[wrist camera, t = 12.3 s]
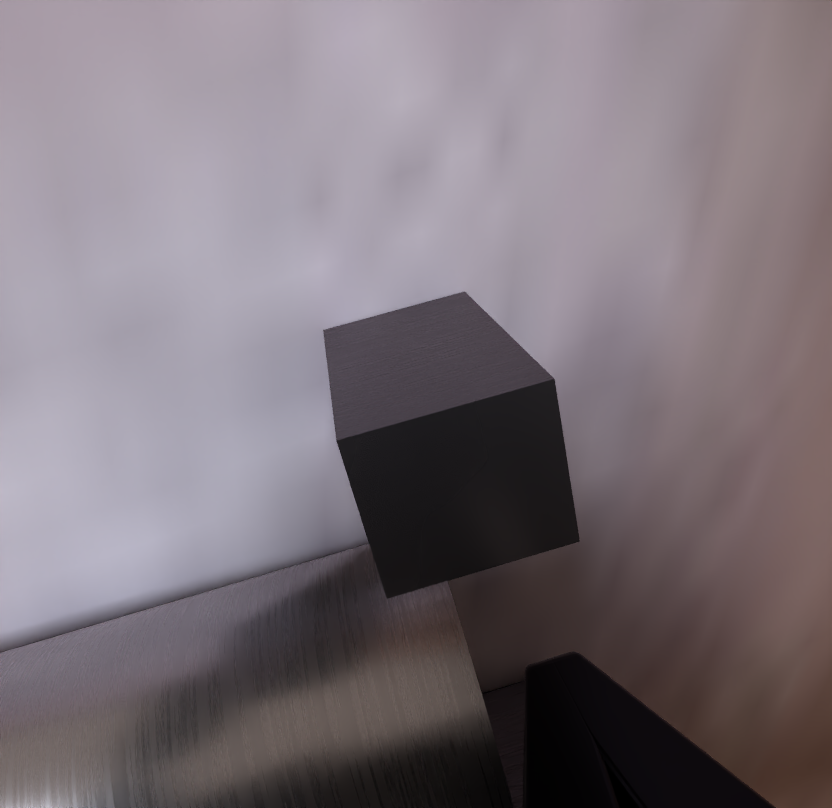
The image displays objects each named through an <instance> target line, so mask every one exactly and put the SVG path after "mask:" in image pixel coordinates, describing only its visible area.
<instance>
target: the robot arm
mask: <svg viewBox="0 0 832 808" xmlns="http://www.w3.org/2000/svg"><path fill="white" fill-rule="evenodd" d="M523 808H776V807H774V806H773V805H772V804H770V803H769V802H768V801H767V800H765V799H764V798H763V797H762V796H760V795H759V794H758V793H756V792H755V791H754V790H753V789H751V788H750V787H749V786H748V785H746V784H745V783H744V782H742V781H741V780H740V779H739V778H737V777H736V776H735V775H734V774H732V773H731V772H730V771H728V770H727V769H726V768H725V767H723V766H722V765H721V764H720V763H718V762H717V761H716V760H714V759H713V758H712V757H711V756H709V755H708V754H707V753H706V752H704V751H703V750H702V749H700V748H699V747H698V746H697V745H695V744H694V743H693V742H692V741H690V740H689V739H688V738H687V737H685V736H684V735H683V734H681V733H680V732H679V731H678V730H676V729H675V728H674V727H673V726H671V725H670V724H669V723H667V722H666V721H665V720H664V719H662V718H661V717H660V716H659V715H657V714H656V713H655V712H653V711H652V710H651V709H650V708H648V707H647V706H646V705H645V704H643V703H642V702H641V701H639V700H638V699H637V698H636V697H634V696H633V695H632V694H631V693H629V692H628V691H627V690H625V689H624V688H623V687H622V686H620V685H619V684H618V683H617V682H615V681H614V680H613V679H611V678H610V677H609V676H608V675H606V674H605V673H604V672H603V671H601V670H600V669H599V668H597V667H596V666H595V665H594V664H592V663H591V662H590V661H589V660H587V659H586V658H585V657H583V656H582V655H581V654H579V653H577V652H569V653H566V654H562V655H559V656H556V657H553V658H549V659H546V660H543V661H540V662H536V663H533V664H530V665H528V666H527V667H526V669H525V697H524V760H523Z"/></svg>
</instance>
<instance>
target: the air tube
mask: <svg viewBox="0 0 832 808" xmlns="http://www.w3.org/2000/svg"><path fill="white" fill-rule="evenodd" d="M0 808H514V806H513V802H512V799H511V795H510V791H509V788H508V784H507V780H506V777H505V773H504V770H503V766H502V762H501V759H500V755H499V752H498V748H497V745H496V741H495V738H494V734H493V731H492V727H491V724H490V720H489V717H488V713H487V710H486V707H485V703H484V700H483V696H482V693H481V689H480V686H479V683H478V679H477V676H476V673H475V669H474V666H473V662H472V659H471V656H470V652H469V649H468V646H467V642H466V639H465V636H464V632H463V629H462V626H461V623H460V619H459V616H458V613H457V610H456V606H455V603H454V600H453V597H452V593H451V590H450V587H449V584H448V581H445V582H442V583H439V584H435V585H432V586H428V587H425V588H422V589H418V590H415V591H412V592H408V593H405V594H402V595H398V596H395V597H392V598H388V599H387V598H386V595H385V592H384V589H383V586H382V582H381V579H380V576H379V573H378V570H377V567H376V563H375V560H374V557H373V554H372V551H371V548H370V545H369V544H366V545H363V546H359V547H356V548H352V549H349V550H346V551H342V552H339V553H336V554H332V555H329V556H326V557H322V558H319V559H315V560H312V561H309V562H305V563H302V564H299V565H295V566H292V567H288V568H285V569H282V570H278V571H275V572H272V573H268V574H265V575H261V576H258V577H255V578H251V579H248V580H245V581H241V582H238V583H234V584H231V585H228V586H224V587H221V588H218V589H214V590H211V591H207V592H204V593H201V594H197V595H194V596H191V597H187V598H184V599H180V600H177V601H174V602H170V603H167V604H164V605H160V606H157V607H153V608H150V609H147V610H143V611H140V612H137V613H133V614H130V615H126V616H123V617H120V618H116V619H113V620H110V621H106V622H103V623H99V624H96V625H93V626H89V627H86V628H83V629H79V630H76V631H72V632H69V633H66V634H62V635H59V636H56V637H52V638H49V639H45V640H42V641H39V642H35V643H32V644H29V645H25V646H22V647H18V648H15V649H12V650H8V651H5V652H2V653H0Z"/></svg>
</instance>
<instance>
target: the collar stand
mask: <svg viewBox="0 0 832 808" xmlns="http://www.w3.org/2000/svg"><path fill="white" fill-rule="evenodd" d="M323 332H324V340H325V348H326V357H327V365H328V373H329V382H330V390H331V399H332V407H333V415H334V424H335V432H336V440H337V444H338V447H339V450H340V453H341V456H342V459H343V463H344V466H345V469H346V472H347V475H348V478H349V481H350V485H351V488H352V491H353V494H354V497H355V500H356V504H357V507H358V510H359V513H360V516H361V519H362V522H363V526H364V529H365V532H366V535H367V538H368V541H369V545H370V548H371V551H372V554H373V557H374V560H375V563H376V567H377V570H378V573H379V576H380V579H381V582H382V586H383V589H384V592H385V595H386V598H387V599H388V598H392V597H395V596H398V595H402V594H405V593H408V592H412V591H415V590H418V589H422V588H425V587H428V586H432V585H435V584H439V583H442V582H445V581H449V580H452V579H455V578H459V577H462V576H465V575H469V574H472V573H475V572H479V571H482V570H485V569H489V568H492V567H496V566H499V565H502V564H506V563H509V562H512V561H516V560H519V559H522V558H526V557H529V556H532V555H536V554H539V553H542V552H546V551H549V550H552V549H556V548H559V547H563V546H566V545H569V544H573V543H576V542H579V541H580V540H579V533H578V527H577V521H576V514H575V508H574V501H573V495H572V489H571V482H570V476H569V469H568V463H567V457H566V450H565V444H564V437H563V431H562V425H561V418H560V412H559V405H558V399H557V393H556V386H555V380H554V378H553V377H552V376H551V375H550V374H549V373H548V372H547V371H546V370H545V369H544V368H543V367H542V366H541V365H540V364H539V363H538V362H537V361H535V360H534V359H533V358H532V357H531V356H530V355H529V354H528V353H527V352H526V351H525V350H524V349H523V348H522V347H521V346H520V345H519V344H518V343H517V342H516V341H515V340H514V339H513V338H512V337H511V336H510V335H509V334H508V333H507V332H506V331H505V330H504V329H503V328H502V327H501V326H500V325H498V324H497V323H496V322H495V321H494V320H493V319H492V318H491V317H490V316H489V315H488V314H487V313H486V312H485V311H484V310H483V309H482V308H481V307H480V306H479V305H478V304H477V303H476V302H475V301H474V300H473V299H472V298H471V297H470V296H469V295H468V294H467V293H466V292H462V293H458V294H454V295H451V296H447V297H443V298H440V299H436V300H432V301H429V302H425V303H421V304H418V305H414V306H410V307H407V308H403V309H399V310H396V311H392V312H388V313H385V314H381V315H377V316H374V317H370V318H366V319H363V320H359V321H355V322H352V323H348V324H344V325H341V326H337V327H333V328H330V329H326V330H323ZM482 696H483V700H484V703H485V707H486V710H487V713H488V717H489V720H490V724H491V727H492V731H493V734H494V738H495V741H496V745H497V748H498V752H499V755H500V759H501V762H502V766H503V770H504V773H505V777H506V780H507V784H508V788H509V791H510V795H511V799H512V802H513V806H514V808H523V760H524V697H525V681H524V682H521V683H517V684H514V685H511V686H508V687H504V688H501V689H498V690H495V691H491V692H488V693H485V694H482Z"/></svg>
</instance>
